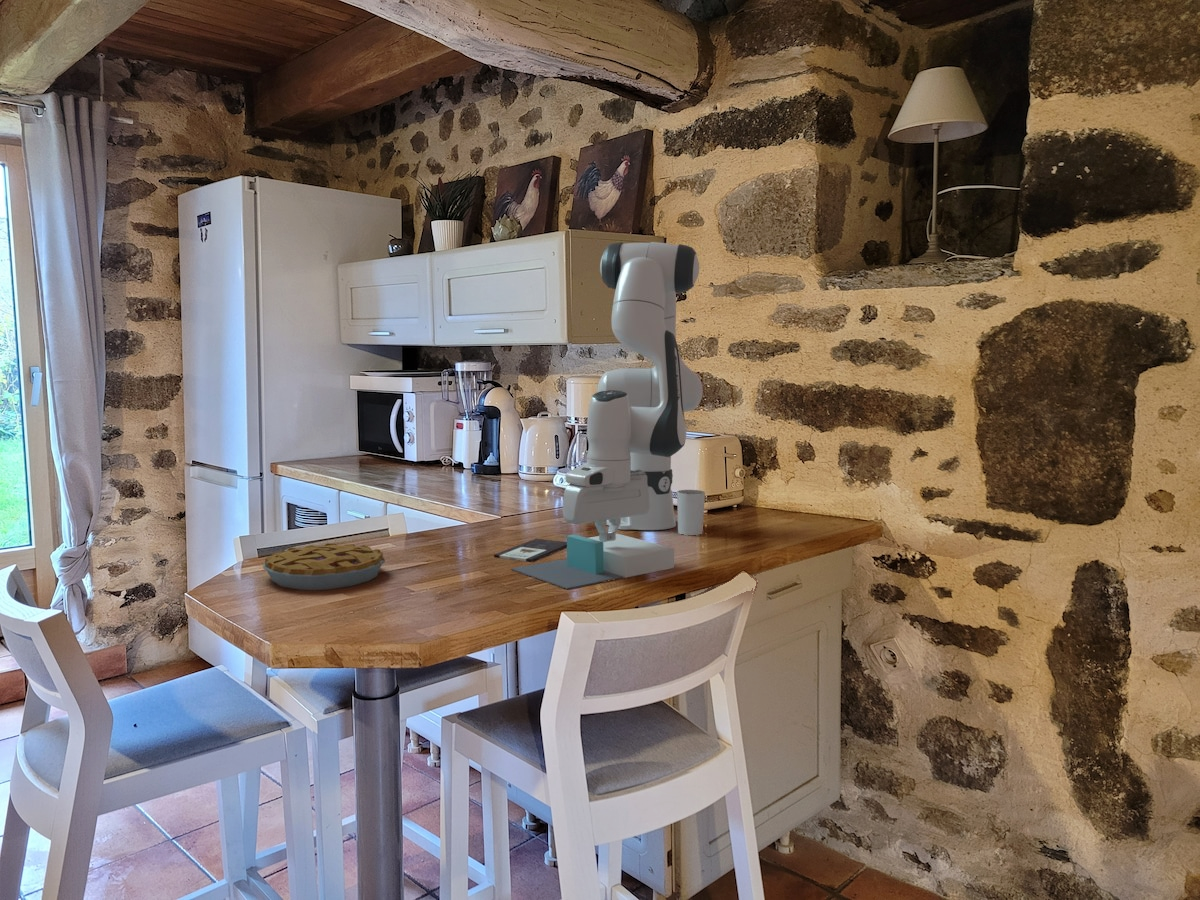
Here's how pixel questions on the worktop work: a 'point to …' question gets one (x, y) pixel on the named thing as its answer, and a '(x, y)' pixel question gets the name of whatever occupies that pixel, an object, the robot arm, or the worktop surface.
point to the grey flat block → (635, 556)
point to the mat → (564, 574)
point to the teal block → (585, 554)
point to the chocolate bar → (532, 550)
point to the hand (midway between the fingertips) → (607, 540)
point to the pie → (324, 566)
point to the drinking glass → (690, 511)
